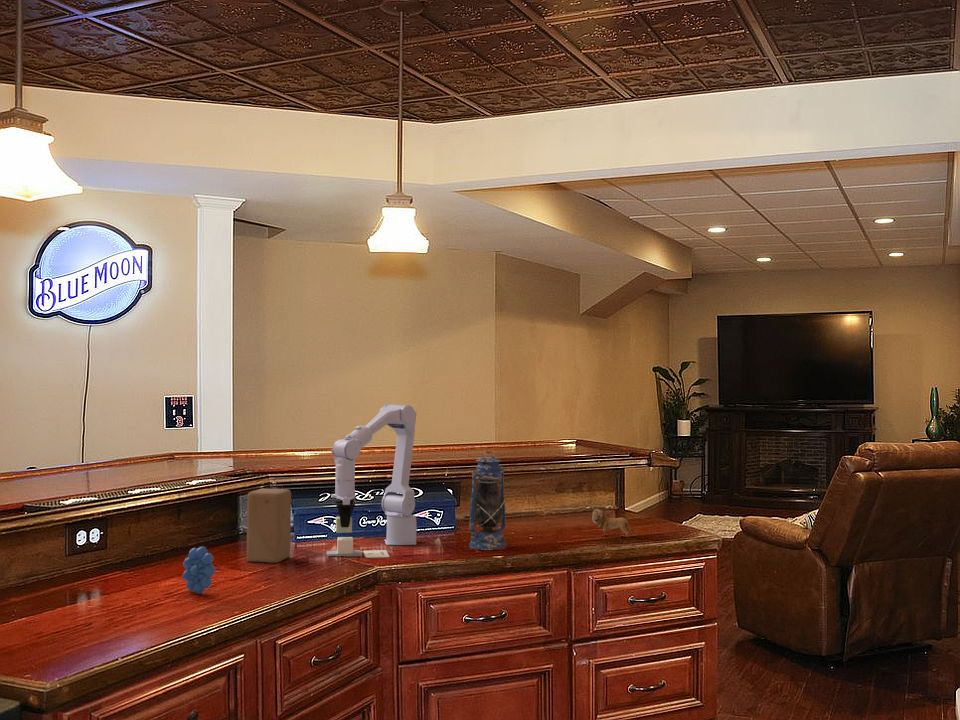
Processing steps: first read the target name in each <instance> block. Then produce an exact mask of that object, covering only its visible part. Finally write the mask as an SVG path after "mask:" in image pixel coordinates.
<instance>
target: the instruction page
mask: <svg viewBox="0 0 960 720" xmlns="http://www.w3.org/2000/svg"><path fill="white" fill-rule="evenodd" d="M362 553H363V554H364V555H363V556H364V557H365V559H369V558H370V559H374V558H377V559H378V558H380V559H381V558H391V557H390V555H389V553H388V551H387V550H386V549H381V550H380V549H379V550H378V549H374V550H362Z"/></svg>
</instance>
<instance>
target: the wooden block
mask: <svg viewBox="0 0 960 720" xmlns="http://www.w3.org/2000/svg"><path fill="white" fill-rule="evenodd" d="M246 499H247V500H246V501H247V503H246V505H247V506H246V511H247V512H246V561H247V562H250V563H265V562H266V563H268V564H277V563H280V562H281V561H284V560H285V559H287V558H290V556H291V532H292V531H291V527H292V526H291V525H292V524H291V522H292V521H291V519H292V518H291V516H292V515H291V513H292V512H291V511H292V491H291V490H290V489H285V488H283V489H282V488H259V489H256V490H252V491H249V492H248V493H247V498H246Z"/></svg>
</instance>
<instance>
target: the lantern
mask: <svg viewBox="0 0 960 720" xmlns="http://www.w3.org/2000/svg"><path fill="white" fill-rule="evenodd" d="M489 453H490V457H487V455H488V454H489ZM475 461H476V462H477V465H476V467H475V469H474V470H472V472H471V475H472V480H471V481H472V482H471V483H472V484H471V494H470V506H469V507H470V510H469V523H468V524H469V525H468V532H469V534H470V536H471V537H470V541H469V544H468V545H469V547H471V548H474V549H481V550H493V549H500V548H504V547H505V546H507V544H506V541H505V534H503V533H502V532H503V531H504V530H505V528H506V523H507V522H506V504H505V503H506V499H505V478H504V476H505V475H504V473H505V468H504V467H503V466H500V462H501V461H502V460H501V459H499V458H498V457H496V456H494V455H493V452H492V451H485V453H484V456H482V457H479V458H478V459H476V460H475ZM498 480H499V486H498ZM477 481H478V487H477ZM475 521H476V523H477V524H476V527H477V528H479V529H478V531H476V530H475V527H474V526H475ZM499 522H500V526H499V525H498V523H499ZM480 528H481V529H480ZM495 528H496V529H495Z"/></svg>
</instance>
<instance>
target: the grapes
mask: <svg viewBox="0 0 960 720" xmlns="http://www.w3.org/2000/svg"><path fill="white" fill-rule="evenodd" d="M213 561H214V556H213V554H212V553H210V552H208V549H207V547H205V546H204V545H202V546H199V547H197V548H196V547H193V548H191V549H190V550H189V552H188V556H187V557H186V558H185V559H184V560H183V562H182V563H183V564H182V566H183V567H184V568H185V570H184V571H183V573H182V579H183V580H184V581H185V582H187V583H186V589H187V590H188V591H190V592H194V593H195V594H197V595H200V594H201V595H202V593H203V592H204V591H205V589H209V588H210V587H211V586H212V583H213V580H212V578H211V577H213V576H214V575H215V573H216V568H215V566H214V565H213V564H212V563H213Z"/></svg>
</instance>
